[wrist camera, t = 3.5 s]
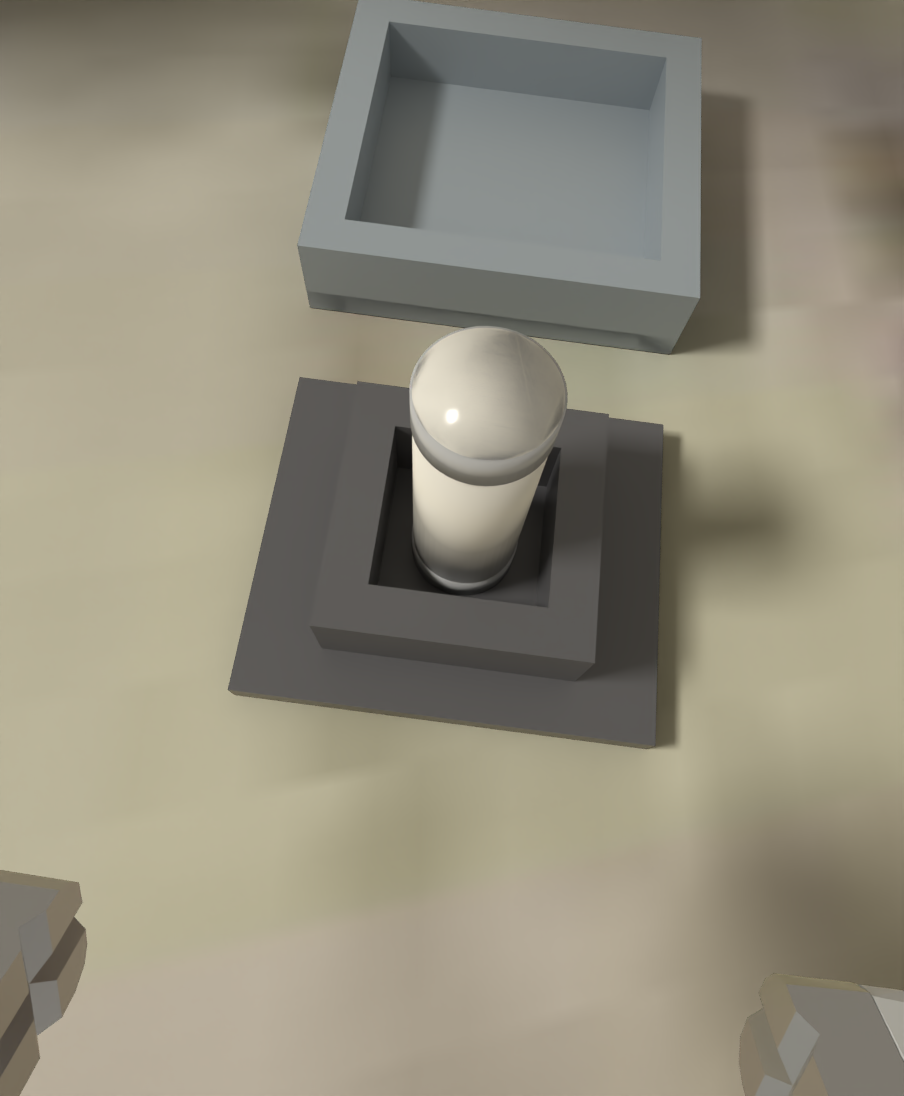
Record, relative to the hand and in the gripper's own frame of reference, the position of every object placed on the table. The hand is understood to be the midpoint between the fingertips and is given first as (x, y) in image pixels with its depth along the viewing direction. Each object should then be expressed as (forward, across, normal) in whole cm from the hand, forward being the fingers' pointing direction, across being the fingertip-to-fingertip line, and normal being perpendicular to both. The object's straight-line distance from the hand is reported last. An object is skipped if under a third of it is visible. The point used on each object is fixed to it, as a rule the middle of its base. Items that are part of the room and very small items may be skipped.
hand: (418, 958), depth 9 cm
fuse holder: (+19, 0, +3) cm, 19 cm away
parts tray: (+31, 0, -9) cm, 32 cm away
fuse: (+18, 0, +3) cm, 18 cm away
